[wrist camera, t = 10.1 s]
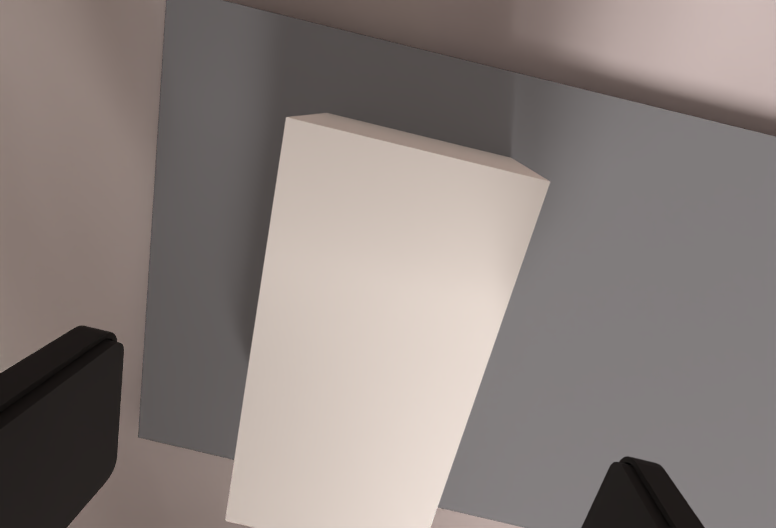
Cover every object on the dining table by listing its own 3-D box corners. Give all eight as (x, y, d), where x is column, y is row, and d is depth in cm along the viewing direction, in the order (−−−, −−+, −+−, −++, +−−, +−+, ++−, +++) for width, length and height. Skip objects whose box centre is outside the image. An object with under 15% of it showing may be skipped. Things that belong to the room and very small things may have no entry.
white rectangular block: (511, 158, 12) (550, 181, 9) (417, 454, 16) (417, 565, 12) (326, 112, 12) (286, 117, 9) (271, 420, 16) (225, 520, 12)
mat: (847, 589, 17) (861, 606, 17) (147, 426, 17) (138, 437, 16) (1132, 226, 13) (1165, 232, 12) (178, -8, 12) (167, -14, 12)
